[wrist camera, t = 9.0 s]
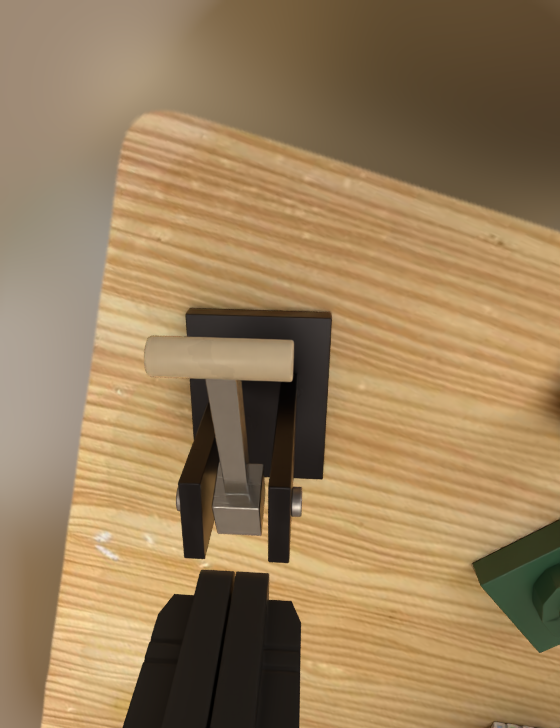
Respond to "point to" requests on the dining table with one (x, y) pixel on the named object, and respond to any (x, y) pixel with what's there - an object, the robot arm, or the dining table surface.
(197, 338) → the lever
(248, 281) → the dining table surface
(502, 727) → the vase
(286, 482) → the bracket
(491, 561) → the button box
